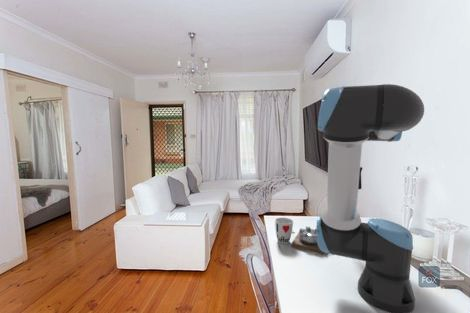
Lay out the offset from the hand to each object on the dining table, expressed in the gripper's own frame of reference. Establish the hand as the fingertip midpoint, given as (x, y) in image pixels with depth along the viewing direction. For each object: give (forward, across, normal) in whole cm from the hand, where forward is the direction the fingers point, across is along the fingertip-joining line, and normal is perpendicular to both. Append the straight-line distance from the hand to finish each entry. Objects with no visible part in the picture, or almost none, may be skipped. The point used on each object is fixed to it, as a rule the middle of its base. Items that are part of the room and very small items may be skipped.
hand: (343, 202), depth 112 cm
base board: (+19, +12, +10) cm, 25 cm away
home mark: (+19, +24, 0) cm, 31 cm away
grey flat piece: (+17, +10, +7) cm, 21 cm away
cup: (+19, +24, +14) cm, 34 cm away
